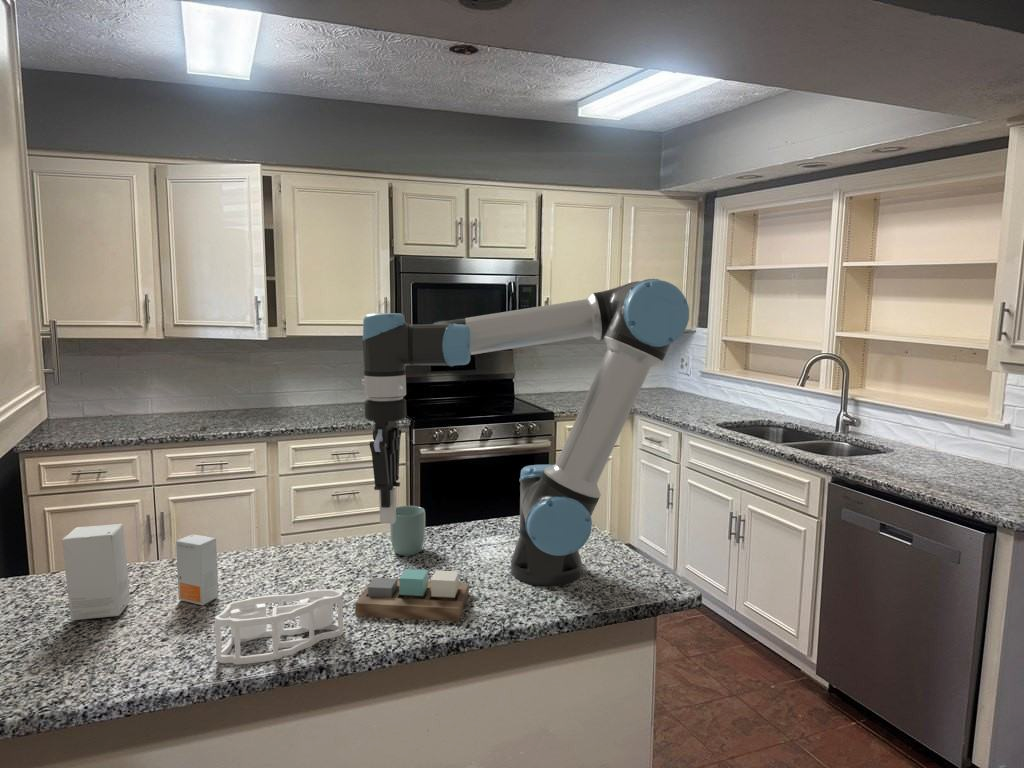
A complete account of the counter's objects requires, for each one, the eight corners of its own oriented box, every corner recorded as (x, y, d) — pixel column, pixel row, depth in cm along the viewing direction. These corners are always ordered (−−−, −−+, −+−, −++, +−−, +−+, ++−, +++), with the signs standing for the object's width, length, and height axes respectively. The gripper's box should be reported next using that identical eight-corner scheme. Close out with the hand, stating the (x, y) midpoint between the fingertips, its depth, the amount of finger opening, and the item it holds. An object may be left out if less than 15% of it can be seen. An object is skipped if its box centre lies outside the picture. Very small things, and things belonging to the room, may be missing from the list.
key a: (458, 587, 128) (458, 571, 128) (454, 597, 124) (454, 581, 123) (436, 586, 128) (436, 570, 128) (431, 596, 124) (431, 579, 124)
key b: (427, 586, 129) (427, 570, 128) (422, 595, 124) (422, 579, 124) (405, 584, 129) (405, 568, 129) (399, 594, 125) (399, 578, 124)
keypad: (468, 595, 132) (468, 583, 131) (459, 621, 121) (459, 608, 120) (373, 590, 133) (373, 578, 133) (355, 616, 122) (355, 603, 122)
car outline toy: (341, 619, 121) (340, 581, 120) (345, 650, 111) (345, 608, 110) (222, 635, 115) (220, 594, 114) (214, 669, 105) (212, 624, 104)
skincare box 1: (131, 602, 127) (126, 522, 125) (118, 618, 121) (113, 534, 119) (82, 605, 125) (76, 525, 123) (66, 622, 119) (60, 537, 117)
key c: (397, 594, 129) (397, 578, 129) (391, 604, 125) (391, 588, 125) (375, 593, 130) (374, 577, 129) (368, 603, 125) (368, 587, 125)
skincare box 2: (177, 601, 128) (174, 540, 126) (195, 592, 132) (192, 533, 130) (202, 606, 126) (199, 545, 124) (219, 597, 130) (217, 537, 128)
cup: (418, 560, 149) (418, 517, 148) (385, 557, 150) (385, 514, 149) (429, 548, 156) (429, 506, 155) (398, 545, 158) (397, 504, 157)
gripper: (375, 392, 129) (378, 510, 132) (353, 402, 116) (357, 533, 119) (413, 393, 129) (415, 512, 132) (396, 403, 116) (398, 534, 119)
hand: (388, 522), depth 125 cm, fingers closed
